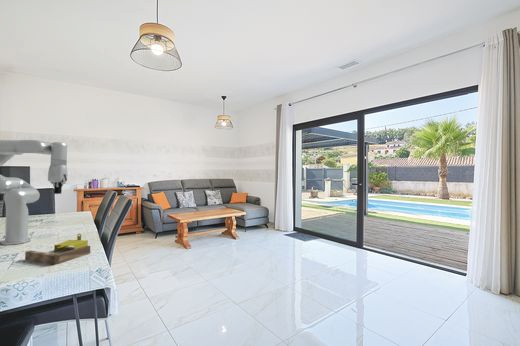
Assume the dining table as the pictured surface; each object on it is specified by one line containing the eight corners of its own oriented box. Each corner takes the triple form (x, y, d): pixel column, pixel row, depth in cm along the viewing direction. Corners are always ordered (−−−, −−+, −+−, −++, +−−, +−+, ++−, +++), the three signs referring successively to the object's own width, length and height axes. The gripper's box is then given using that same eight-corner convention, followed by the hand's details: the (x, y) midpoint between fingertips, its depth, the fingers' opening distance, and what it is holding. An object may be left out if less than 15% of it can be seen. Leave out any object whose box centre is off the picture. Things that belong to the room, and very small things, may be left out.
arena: (25, 260, 118) (25, 251, 118) (63, 249, 135) (63, 242, 135) (54, 264, 113) (54, 256, 113) (90, 253, 130) (90, 245, 130)
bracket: (43, 240, 127) (65, 233, 142) (42, 255, 127) (65, 246, 142) (73, 240, 127) (93, 233, 142) (73, 256, 127) (92, 247, 142)
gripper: (42, 162, 147) (41, 193, 147) (61, 162, 143) (60, 194, 143) (56, 163, 155) (55, 192, 154) (74, 163, 151) (73, 193, 150)
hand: (57, 193), depth 149 cm, fingers closed
